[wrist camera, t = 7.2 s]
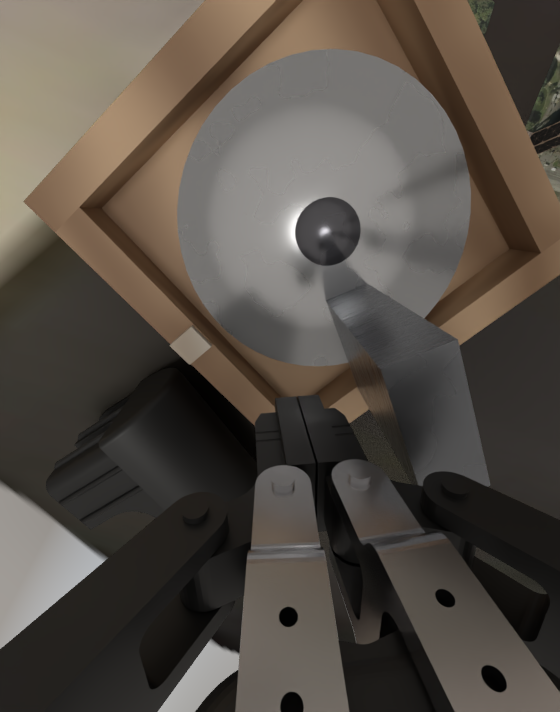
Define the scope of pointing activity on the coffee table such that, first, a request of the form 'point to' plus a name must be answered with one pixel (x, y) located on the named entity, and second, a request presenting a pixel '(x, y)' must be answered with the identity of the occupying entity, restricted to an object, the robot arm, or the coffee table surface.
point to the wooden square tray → (193, 106)
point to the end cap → (151, 455)
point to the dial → (340, 239)
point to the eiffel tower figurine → (537, 107)
